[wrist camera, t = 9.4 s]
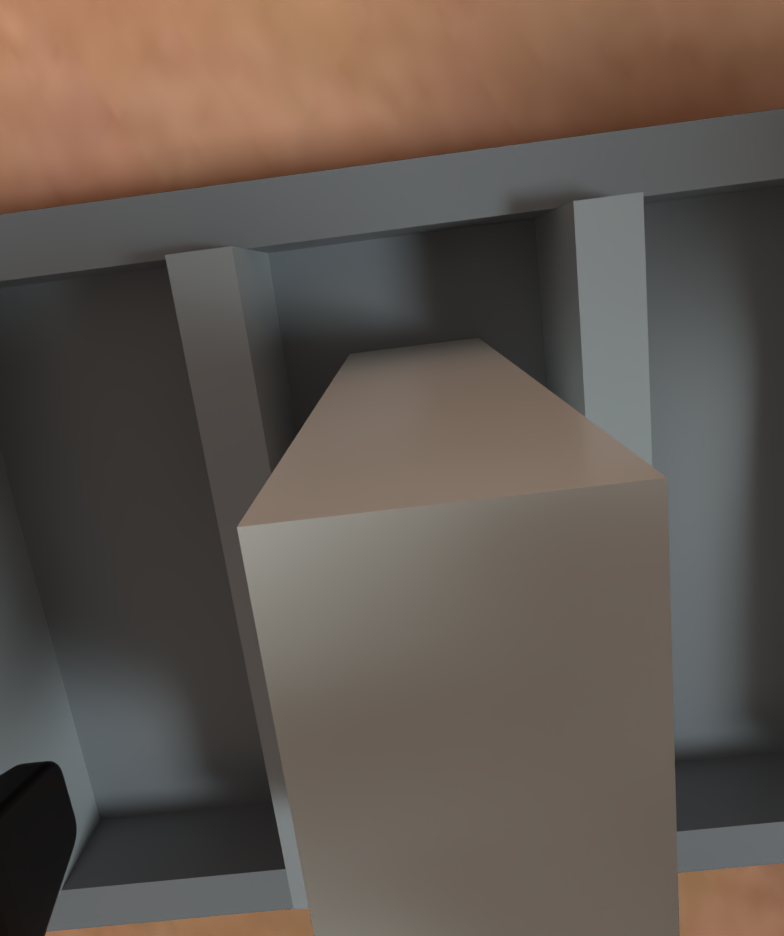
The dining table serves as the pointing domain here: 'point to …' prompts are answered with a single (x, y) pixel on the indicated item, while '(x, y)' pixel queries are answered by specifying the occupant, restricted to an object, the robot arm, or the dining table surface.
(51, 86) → the dining table surface
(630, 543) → the white rectangular block
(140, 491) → the rack
